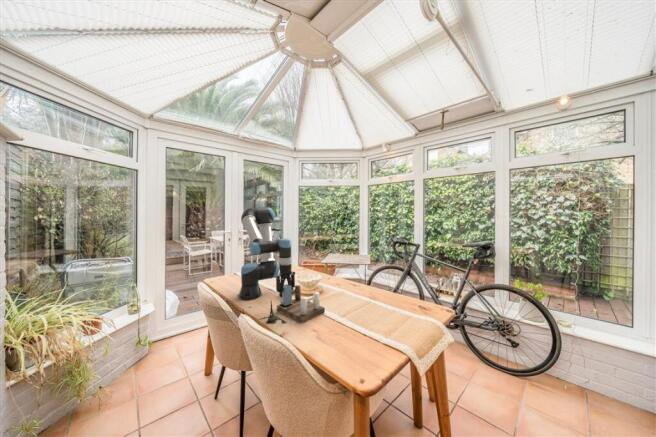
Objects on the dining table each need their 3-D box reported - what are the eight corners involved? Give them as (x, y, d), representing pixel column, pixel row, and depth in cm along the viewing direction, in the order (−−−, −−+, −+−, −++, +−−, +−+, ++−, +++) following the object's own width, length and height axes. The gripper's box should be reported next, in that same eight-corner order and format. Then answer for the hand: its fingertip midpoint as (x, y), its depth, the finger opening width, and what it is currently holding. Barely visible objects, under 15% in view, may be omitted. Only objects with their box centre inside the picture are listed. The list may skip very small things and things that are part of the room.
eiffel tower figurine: (287, 323, 133) (287, 300, 132) (271, 330, 126) (271, 305, 125) (273, 314, 144) (272, 293, 143) (258, 320, 137) (257, 297, 136)
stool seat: (277, 310, 149) (276, 291, 148) (299, 301, 161) (299, 284, 161) (301, 323, 132) (301, 302, 131) (324, 312, 145) (324, 293, 144)
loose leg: (280, 303, 148) (280, 286, 148) (287, 301, 152) (286, 284, 151) (285, 305, 145) (284, 288, 144) (291, 303, 148) (291, 286, 148)
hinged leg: (316, 306, 146) (316, 291, 146) (320, 307, 144) (320, 293, 143) (299, 313, 136) (299, 298, 136) (303, 315, 134) (303, 299, 133)
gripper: (293, 260, 156) (293, 295, 157) (269, 265, 143) (270, 303, 144) (300, 262, 151) (301, 298, 152) (276, 267, 138) (277, 306, 139)
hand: (286, 300), depth 148 cm, fingers closed on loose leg, 5 cm apart
